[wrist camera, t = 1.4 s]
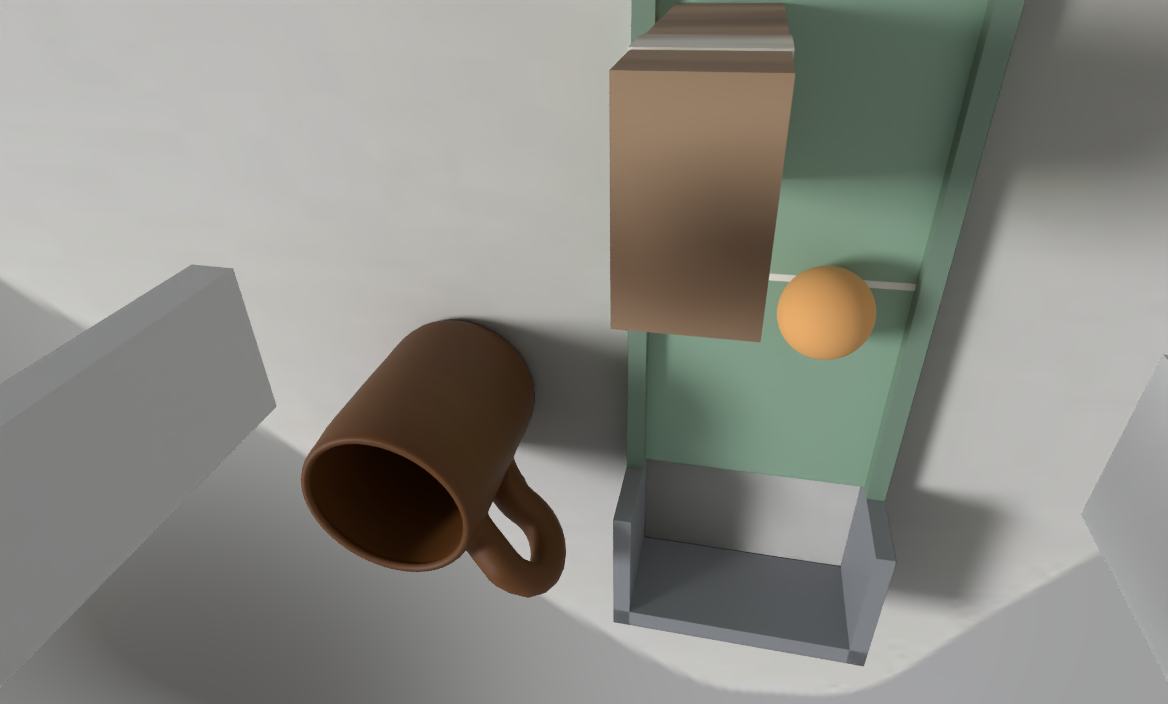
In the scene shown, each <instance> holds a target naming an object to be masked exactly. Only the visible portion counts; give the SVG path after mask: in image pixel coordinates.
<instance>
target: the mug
mask: <svg viewBox="0 0 1168 704" xmlns="http://www.w3.org/2000/svg"><path fill="white" fill-rule="evenodd" d="M534 401H535V392H534V384H533V381H532V377H531V375H530V372H529V370H528V368H527V366H526V364H525V362H524V361H523V359H522V358H521V356H520V355H519V354H518V352H517V351H516V350H515V349H514V348H513V347H512V346H511V345H510V344H509V343H508V342H506V341H505V340H504V339H503V338H501V337H500V336H498V335H497V334H495V333H494V332H492V331H490V330H488V329H486V328H484V327H481V326H479V325H476V324H472V323H469V322H463V321H453V320H446V321H437V322H432V323H429V324H426V325H423V326H421V327H420V328H418V329H416V330H414V331H413V332H411V333H410V334H409V335H408V336H406V337H405V338H404V339H403V340H402V341H401V342H400V343H399V344H398V345H397V347H396V348H395V349H394V350H393V351H392V352H391V353H390V355H389V356H388V357H387V358H386V359H385V360H384V362H383V363H382V364H381V365H380V366H379V367H378V368H377V369H376V370H375V372H374V373H373V374H372V375H371V376H370V377H369V378H368V380H367V381H366V382H365V383H364V384H363V385H362V386H361V388H360V389H359V390H358V391H357V392H356V394H355V395H354V396H353V397H352V398H351V399H350V401H349V402H348V403H347V404H346V405H345V406H344V408H343V409H342V410H341V411H340V412H339V413H338V415H337V416H336V417H335V418H334V419H333V420H332V422H331V423H330V424H329V426H328V427H327V428H326V430H325V431H324V433H323V434H322V436H321V437H320V439H319V440H318V442H317V443H316V444H315V446H314V447H313V448H312V450H311V451H310V453H309V454H308V456H307V458H306V460H305V462H304V465H303V468H302V477H301V486H302V491H303V495H304V498H305V501H306V504H307V506H308V507H309V509H310V511H311V513H312V515H313V516H314V517H315V519H316V520H317V522H318V523H319V524H320V525H321V527H322V528H323V529H324V530H325V531H326V532H327V533H328V534H329V535H330V536H331V537H332V538H333V539H335V540H336V541H337V542H338V543H339V544H341V545H343V546H344V547H345V548H346V549H348V550H350V551H351V552H353V553H354V554H356V555H358V556H360V557H362V558H364V559H366V560H368V561H370V562H373V563H375V564H378V565H381V566H384V567H387V568H391V569H396V570H401V571H410V572H422V571H431V570H436V569H439V568H442V567H444V566H447V565H449V564H451V563H452V562H454V561H455V560H456V559H458V558H459V557H460V556H461V555H462V554H463V553H464V552H465V550H466V551H467V552H468V553H469V554H470V556H471V557H472V558H473V560H474V561H475V562H476V564H477V565H478V566H479V567H480V569H481V570H482V571H483V573H484V574H485V575H486V576H487V578H488V579H489V580H490V581H491V582H492V583H493V584H494V585H496V586H497V587H499V588H501V589H503V590H505V591H507V592H509V593H511V594H515V595H519V596H523V597H528V598H529V597H532V596H536V595H540V594H543V593H546V592H547V591H548V590H549V589H550V588H551V587H552V586H554V585H555V584H556V583H557V581H558V580H559V578H560V576H561V574H562V571H563V569H564V564H565V557H566V547H565V538H564V534H563V530H562V528H561V525H560V523H559V521H558V518H557V517H556V515H555V514H554V512H553V510H552V509H551V508H550V506H549V505H548V504H547V503H546V502H545V501H544V500H543V499H542V498H541V497H540V496H539V495H538V494H537V493H536V492H534V491H533V490H532V489H531V488H530V487H529V486H528V484H527V483H526V481H525V478H524V477H523V476H522V474H521V473H520V471H519V469H518V467H517V465H516V463H515V460H514V455H515V452H516V450H517V447H518V445H519V443H520V441H521V439H522V437H523V435H524V433H525V431H526V428H527V426H528V424H529V421H530V418H531V415H532V412H533V407H534ZM492 502H494V503H495V505H496V506H497V507H498V508H499V510H500V511H501V512H502V513H503V514H504V515H505V516H506V517H507V518H509V519H510V520H511V521H513V522H514V523H515V524H517V525H518V526H519V527H520V528H521V529H522V530H523V532H524V533H525V535H526V536H527V539H528V541H529V545H530V550H531V558H530V561H528V560H525V559H523V558H522V557H521V556H520V555H519V554H518V553H517V552H516V551H515V549H514V548H513V547H512V545H511V544H510V543H509V542H508V540H507V539H506V538H505V537H504V535H503V534H502V533H501V531H500V530H499V529H498V528H497V526H496V525H495V524H494V523H493V521H492V520H491V518H490V517H489V515H488V511H489V508H490V506H491V504H492Z"/></svg>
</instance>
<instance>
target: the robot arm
mask: <svg viewBox="0 0 1168 704" xmlns="http://www.w3.org/2000/svg"><path fill="white" fill-rule="evenodd" d="M275 407H276V403H275V400H274V397H273V393H272V390H271V387H270V384H269V381H268V378H267V374H266V371H265V368H264V365H263V362H262V359H261V355H260V352H259V349H258V346H257V343H256V340H255V336H254V333H253V330H252V327H251V324H250V321H249V317H248V314H247V311H246V308H245V305H244V302H243V298H242V295H241V292H240V289H239V286H238V283H237V280H236V276H235V273H234V270H233V268H222V267H211V266H200V265H190V266H189V267H187V268H186V269H184V270H182V271H181V272H179V273H178V274H176V275H174V276H173V277H171V278H169V279H168V280H166V281H165V282H163V283H161V284H160V285H158V286H157V287H155V288H153V289H152V290H150V291H149V292H147V293H145V294H144V295H142V296H141V297H139V298H137V299H136V300H134V301H133V302H131V303H129V304H128V305H126V306H125V307H123V308H121V309H120V310H118V311H117V312H115V313H113V314H112V315H110V316H109V317H107V318H105V319H104V320H102V321H100V322H99V323H97V324H96V325H94V326H92V327H91V328H89V329H88V330H86V331H84V332H83V333H81V334H80V335H78V336H76V337H75V338H73V339H72V340H70V341H68V342H67V343H65V344H64V345H62V346H60V347H59V348H57V349H56V350H54V351H52V352H51V353H50V354H48V355H46V356H44V357H43V358H41V359H39V360H38V361H36V362H35V363H33V364H31V365H30V366H28V367H27V368H25V369H24V370H22V371H20V372H19V373H17V374H15V375H14V376H12V377H11V378H9V379H7V380H6V381H4V382H3V383H1V384H0V687H1V686H2V685H3V684H4V683H5V682H6V681H7V680H8V679H9V678H10V677H11V676H12V675H13V674H14V673H15V672H16V671H17V670H18V669H19V668H20V667H21V666H22V665H23V664H24V663H25V662H26V661H27V660H28V659H29V658H30V657H31V656H32V655H33V654H34V653H35V652H36V651H37V650H38V649H39V648H40V647H41V646H42V645H43V644H44V643H45V642H46V640H48V639H49V638H50V637H51V636H52V634H53V633H54V632H55V631H56V630H57V629H58V628H59V627H60V626H61V625H62V624H63V623H64V622H65V621H66V620H67V619H68V618H69V617H70V616H71V615H72V614H73V613H74V612H75V611H76V610H77V609H78V608H79V607H80V606H81V605H82V604H83V603H84V602H85V601H86V600H87V599H88V598H89V597H90V596H91V595H92V594H93V593H94V592H95V591H96V590H97V589H98V588H99V587H100V585H102V583H104V582H105V580H107V578H108V577H109V576H110V575H111V574H112V573H113V572H114V571H115V570H116V569H117V568H118V567H119V566H120V565H121V564H122V563H123V562H124V561H125V560H126V559H127V558H128V557H129V556H130V555H131V554H132V553H133V552H134V551H135V550H136V549H137V548H138V547H139V546H140V545H141V544H142V543H143V542H144V541H145V540H146V539H147V538H148V537H149V536H150V535H151V534H152V533H153V532H154V531H155V529H157V527H159V526H160V525H161V523H162V522H163V521H164V520H165V519H166V518H167V517H168V516H169V515H170V514H171V513H172V512H173V511H174V510H175V509H176V508H177V507H178V506H179V505H180V504H181V503H182V502H183V501H184V500H185V499H186V498H187V497H188V496H189V495H190V494H191V493H192V492H193V491H194V490H195V489H196V488H197V487H198V486H199V485H200V484H201V483H202V481H204V480H205V479H206V478H207V477H208V476H209V475H210V474H211V473H212V471H214V470H215V469H216V468H217V467H218V465H219V464H220V463H221V462H222V461H223V460H224V459H225V458H226V457H227V456H228V455H229V454H230V453H231V452H232V451H233V450H234V449H235V448H236V447H237V446H238V445H239V444H240V443H241V442H242V441H243V440H244V439H245V438H246V437H247V436H248V435H249V434H250V433H251V432H252V431H253V430H254V429H255V428H256V427H257V426H258V425H259V424H260V423H261V422H262V421H263V420H264V419H265V418H266V417H267V416H268V415H269V414H270V413H271V412H272V411H273V409H274V408H275ZM1081 515H1082V517H1083V519H1084V521H1085V523H1086V525H1087V527H1088V529H1089V530H1090V532H1091V534H1092V536H1093V538H1094V540H1095V542H1096V544H1097V546H1098V548H1099V550H1100V552H1101V554H1102V556H1103V558H1104V560H1105V562H1106V564H1107V566H1108V567H1109V569H1110V572H1111V573H1112V575H1113V577H1114V579H1115V581H1116V583H1117V585H1118V587H1119V589H1120V591H1121V593H1122V595H1123V597H1124V599H1125V601H1126V603H1127V605H1128V607H1129V608H1130V611H1131V612H1132V614H1133V616H1134V618H1135V620H1136V622H1137V624H1138V626H1139V628H1140V630H1141V632H1142V634H1143V636H1144V638H1145V640H1146V642H1147V644H1148V646H1149V648H1150V650H1151V652H1152V653H1153V655H1154V657H1155V659H1156V661H1157V663H1158V665H1159V667H1160V669H1161V671H1162V673H1163V675H1164V677H1165V679H1166V681H1167V683H1168V355H1163V356H1162V357H1161V359H1160V361H1159V363H1158V365H1157V367H1156V369H1155V371H1154V373H1153V375H1152V377H1151V379H1150V381H1149V383H1148V385H1147V387H1146V389H1145V391H1144V393H1143V395H1142V396H1141V398H1140V400H1139V402H1138V404H1137V406H1136V408H1135V410H1134V412H1133V414H1132V416H1131V418H1130V420H1129V422H1128V424H1127V426H1126V428H1125V430H1124V432H1123V434H1122V435H1121V437H1120V439H1119V441H1118V443H1117V445H1116V447H1115V449H1114V451H1113V453H1112V455H1111V457H1110V459H1109V461H1108V463H1107V465H1106V467H1105V469H1104V471H1103V473H1102V474H1101V476H1100V478H1099V480H1098V482H1097V484H1096V486H1095V488H1094V490H1093V492H1092V494H1091V496H1090V498H1089V500H1088V502H1087V504H1086V506H1085V508H1084V510H1083V512H1082V513H1081Z"/></svg>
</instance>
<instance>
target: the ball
mask: <svg viewBox="0 0 1168 704" xmlns="http://www.w3.org/2000/svg"><path fill="white" fill-rule="evenodd" d="M777 321H778V326H779V329H780V331H781V333H782V335H783V337H784V339H785V340H786V341H787V343H788V344H789V345H790V346H791V347H792V348H793V349H795V350H796V351H797V352H799V353H801V354H803V355H805V356H807V357H810V358H813V359H819V360H833V359H838V358H842V357H844V356H847V355H849V354H851V353H853V352H854V351H856V350H857V349H858V348H860V347H861V346H862V345H863V344H864V343H865V342H866V340H867V339H868V338H869V336H870V334H871V332H872V330H873V328H874V325H875V321H876V303H875V299H874V296H873V294H872V292H871V290H870V288H869V287H868V285H867V284H866V283H865V282H864V281H863V280H862V279H861V278H860V277H859V276H858V275H856V274H855V273H853V272H851V271H849V270H847V269H844V268H841V267H836V266H819V267H814V268H811V269H808V270H806V271H804V272H802V273H800V274H798V275H797V276H796V277H794V278H793V279H792V280H791V281H790V282H789V283H788V284H787V286H786V287H785V288H784V290H783V292H782V294H781V296H780V299H779V301H778V306H777Z"/></svg>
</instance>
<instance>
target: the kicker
mask: <svg viewBox="0 0 1168 704" xmlns="http://www.w3.org/2000/svg"><path fill="white" fill-rule="evenodd" d="M794 50H795V48H794V42H793V36H792V35H789V29H788V22H787V16H786V9H785V3H676V4H675V5H674V6H673V7H672V8H671V9H670V10H669V11H668V12H667V13H666V14H665V15H664V16H663V17H662V18H661V19H660V20H659V21H658V22H657V23H656V24H655V25H654V26H653V27H652V28H651V29H650V30H649V31H648V32H647V33H646V34H641V35H640V36H639V37H638V38H637V39H636V40H635V41H634V42H633V43H632V44H631V45H630V46H629V47H628V52H627V53H626V54H625V55H624V56H623V57H622V58H621V59H620V60H619V61H618V62H617V63H616V64H615V65H614V66H613V67H612V68H611V69H610V70H609V75H610V280H611V329H618V330H629V331H640V332H651V333H662V334H673V335H684V336H695V337H706V338H717V339H727V340H738V341H749V342H760V343H761V336H762V328H763V320H764V313H765V305H766V297H767V289H768V282H769V274H770V266H771V259H772V251H773V243H774V235H775V228H776V220H777V212H778V205H779V197H780V189H781V181H782V174H783V166H784V158H785V150H786V143H787V135H788V127H789V120H790V112H791V104H792V96H793V89H794V81H795V67H794V61H793V58H794Z"/></svg>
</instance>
